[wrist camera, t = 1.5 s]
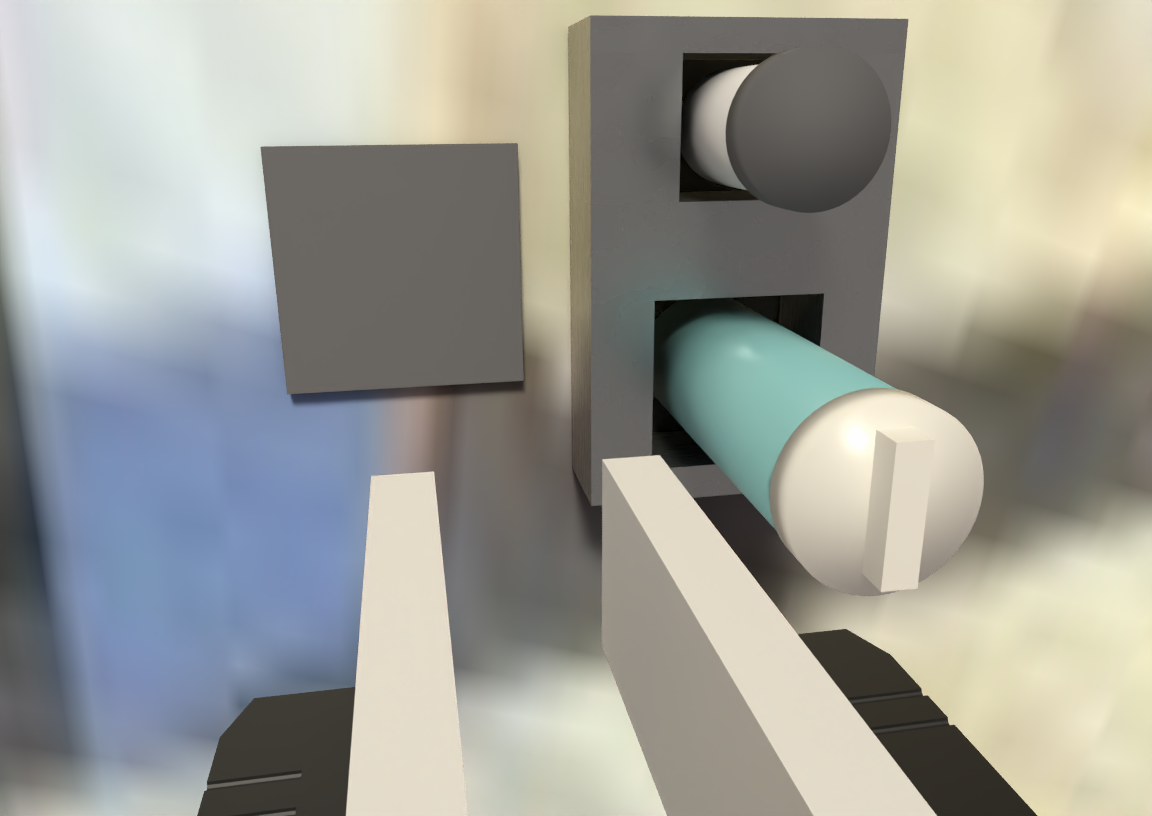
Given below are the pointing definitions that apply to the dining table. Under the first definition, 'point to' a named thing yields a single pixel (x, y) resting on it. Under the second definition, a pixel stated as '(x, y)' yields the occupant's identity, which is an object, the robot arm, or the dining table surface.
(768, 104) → the plunger
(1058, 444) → the dining table surface
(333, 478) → the dining table surface
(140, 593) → the dining table surface
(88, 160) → the dining table surface
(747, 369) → the cartridge
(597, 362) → the housing
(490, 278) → the mat
